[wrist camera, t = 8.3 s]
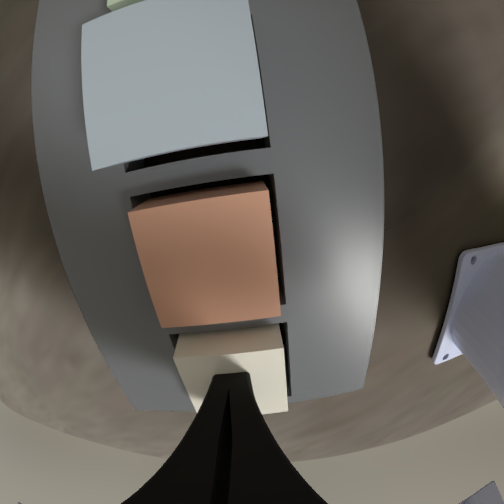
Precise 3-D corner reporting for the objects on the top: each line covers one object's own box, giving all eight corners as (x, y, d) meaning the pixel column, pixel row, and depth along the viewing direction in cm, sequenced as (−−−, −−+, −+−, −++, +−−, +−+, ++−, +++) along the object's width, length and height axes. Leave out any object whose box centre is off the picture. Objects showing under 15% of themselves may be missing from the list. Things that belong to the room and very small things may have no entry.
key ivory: (274, 302, 12) (283, 347, 9) (280, 365, 14) (288, 410, 11) (185, 312, 12) (172, 357, 9) (204, 373, 14) (199, 418, 11)
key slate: (242, 27, 7) (244, -19, 4) (258, 139, 8) (267, 136, 5) (124, 52, 7) (82, 24, 4) (136, 160, 8) (92, 171, 5)
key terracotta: (260, 177, 10) (268, 190, 7) (271, 274, 12) (281, 316, 9) (156, 193, 10) (127, 212, 7) (177, 286, 12) (161, 328, 9)
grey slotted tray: (314, -58, 6) (324, -80, 4) (351, 363, 14) (362, 388, 12) (64, -8, 6) (44, -21, 4) (143, 384, 14) (135, 409, 12)
